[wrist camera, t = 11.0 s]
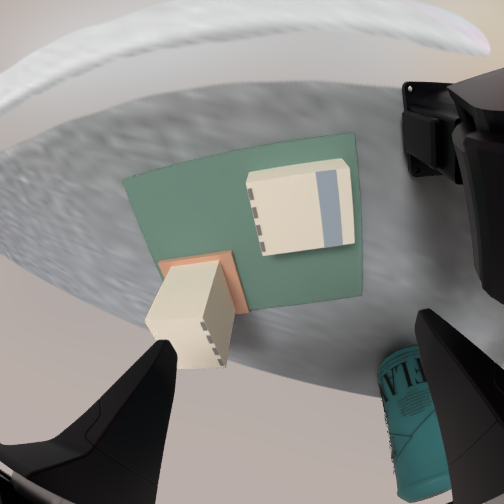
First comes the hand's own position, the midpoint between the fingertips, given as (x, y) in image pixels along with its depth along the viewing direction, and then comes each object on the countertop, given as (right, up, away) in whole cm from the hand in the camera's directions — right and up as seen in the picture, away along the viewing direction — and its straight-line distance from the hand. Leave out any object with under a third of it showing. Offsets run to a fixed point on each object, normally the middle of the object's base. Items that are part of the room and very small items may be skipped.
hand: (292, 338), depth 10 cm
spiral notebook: (+2, +6, +10) cm, 12 cm away
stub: (-5, 0, +14) cm, 15 cm away
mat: (-1, +4, +12) cm, 13 cm away
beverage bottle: (+15, -8, +18) cm, 25 cm away
